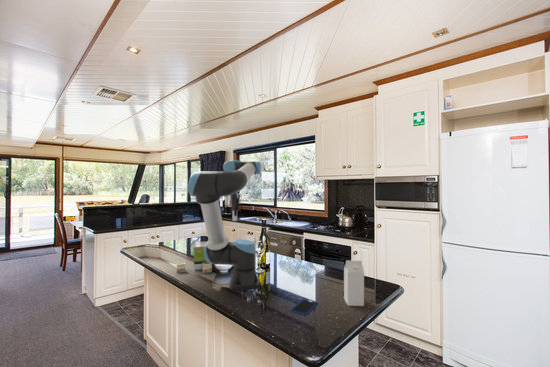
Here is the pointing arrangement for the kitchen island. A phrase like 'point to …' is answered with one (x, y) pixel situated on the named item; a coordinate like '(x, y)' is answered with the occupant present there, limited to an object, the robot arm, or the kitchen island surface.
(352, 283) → the milk carton
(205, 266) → the marked block
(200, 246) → the tea box
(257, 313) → the kitchen island surface
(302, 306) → the cell phone
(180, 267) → the marked block
